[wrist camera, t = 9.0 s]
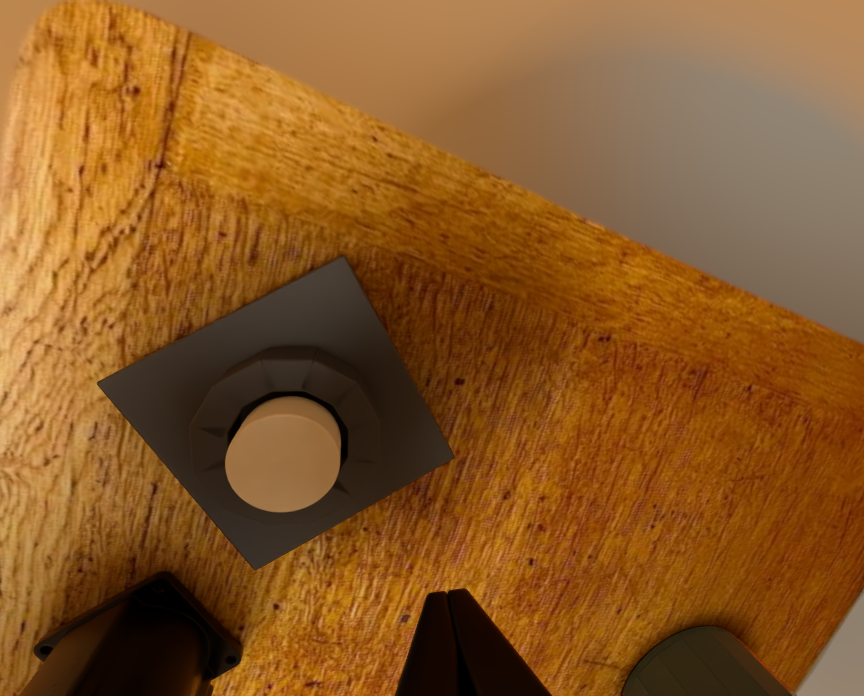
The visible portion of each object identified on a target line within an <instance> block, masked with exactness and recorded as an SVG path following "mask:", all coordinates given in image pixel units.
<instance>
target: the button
mask: <svg viewBox="0 0 864 696" xmlns="http://www.w3.org/2000/svg"><path fill="white" fill-rule="evenodd" d="M340 453H341V434H340V429H339V426H338V424H337V422H336V420H335V418H334V417H333V416H332V414H331V413H330V412H329V411H328V410H327V409H326V408H325V407H323V406H322V405H320V404H319V403H317V402H315V401H313V400H310V399H307V398H304V397H298V396H283V397H278V398H274V399H271V400H268V401H266V402H264V403H262V404H261V405H259V406H257V407H256V408H255V409H254V410H252V411H251V413H250V414H249V415H248V416H247V417H246V419H245V420H244V422H243V423H242V425H241V427H240V428H239V430H238V432H237V433H236V435H235V436H234V438H233V440H232V441H231V443H230V445H229V447H228V450H227V453H226V459H225V469H226V474H227V478H228V481H229V483H230V485H231V487H232V488H233V490H234V491H235V492H236V494H237V495H238V496H239V497H240V498H242V499H243V500H244V501H245V502H247V503H248V504H250V505H252V506H254V507H256V508H259V509H262V510H265V511H270V512H291V511H296V510H300V509H303V508H306V507H308V506H310V505H312V504H314V503H315V502H317V501H318V500H320V499H321V498H322V497H323V496H324V495H325V494H326V493H327V492H328V491H329V490H330V489H331V487H332V486H333V484H334V482H335V481H336V478H337V476H338V473H339V468H340Z"/></svg>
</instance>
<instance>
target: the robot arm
mask: <svg viewBox="0 0 864 696" xmlns="http://www.w3.org/2000/svg"><path fill="white" fill-rule="evenodd" d="M159 582H160V583H163V584H165V585H161V584H159ZM33 650H34V654H35V655H36V656H37V657H38V658H39V659H40V660H42V661H43V662H44V663H43V664H42V665H41V667H40V668H39V669H38V671H37V672H36V673H35V675H34V676H33V678H32V679H31V680H30V682H29V683H28V684H27V686H26V687H25V688H24V690H23V691H22V692H21V694H20V695H19V696H211V695H212V692H213V686H212V685H211V684H210V683H211V680H213V679H215V678H216V677H218V676H220V675H221V674H223V673H225V672H227V671H228V670H230V669H232V668H234V667H235V666H237V665H238V664H239V663H240V661H241V658H242V654H243V649H242V647H241V646H240V645H239V644H238V643H237V642H236V641H235V640H234V639H233V638H232V637H231V636H230V634H229V633H228V632H227V631H226V630H225V629H224V628H223V627H222V626H221V625H220V624H219V623H218V622H217V621H216V620H215V619H214V618H213V616H212V615H211V614H210V613H209V612H208V611H207V610H206V609H205V608H204V607H203V606H202V605H201V604H200V603H199V602H198V601H197V600H196V598H195V597H194V596H193V595H192V594H191V593H190V592H189V591H188V590H187V589H186V588H185V587H184V586H183V585H182V584H181V583H180V582H179V580H178V579H177V578H176V577H175V576H174V575H173V574H171V573H170V572H166V571H161V572H158V573H156V574H154V575H152V576H150V577H148V578H147V579H145V580H143V581H141V582H139V583H138V584H136V585H134V586H132V587H130V588H129V589H127V590H125V591H123V592H121V593H120V594H118V595H116V596H114V597H112V598H111V599H109V600H107V601H105V602H103V603H102V604H100V605H98V606H96V607H94V608H93V609H91V610H89V611H87V612H85V613H84V614H82V615H80V616H78V617H76V618H75V619H73V620H71V621H69V622H67V623H66V624H64V625H62V626H60V627H58V628H57V629H55V630H53V631H51V632H49V633H48V634H46V635H44V636H43V637H42V638H41V639H40V640H39V642H38V643H37V644H36V645H35V647H34V649H33ZM395 696H552V695H551V694H550V692H549V691H548V690H547V689H546V687H545V686H544V685H543V684H542V682H541V681H540V680H539V679H538V677H537V676H536V675H535V674H534V672H533V671H532V670H531V669H530V667H529V666H528V665H527V664H526V662H525V661H524V660H523V659H522V657H521V656H520V655H519V654H518V652H517V651H516V650H515V649H514V647H513V646H512V645H511V644H510V642H509V641H508V640H507V639H506V637H505V636H504V635H503V634H502V632H501V631H500V630H499V629H498V627H497V626H496V625H495V624H494V622H493V621H492V620H491V619H490V617H489V616H488V615H487V614H486V612H485V611H484V610H483V609H482V607H481V606H480V605H479V604H478V602H477V601H476V600H475V599H474V598H473V596H472V595H471V594H470V593H469V591H468V590H467V589H464V588H462V589H455V590H449V591H448V593H446V592H445V591H440V592H433V593H429V594H428V595H427V597H426V600H425V603H424V606H423V609H422V612H421V615H420V618H419V621H418V624H417V628H416V631H415V634H414V637H413V640H412V643H411V646H410V649H409V653H408V656H407V659H406V662H405V665H404V668H403V671H402V674H401V678H400V681H399V684H398V687H397V690H396V693H395Z"/></svg>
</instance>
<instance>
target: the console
mask: <svg viewBox="0 0 864 696" xmlns="http://www.w3.org/2000/svg"><path fill="white" fill-rule="evenodd" d="M97 385H98V386H99V387H100V389H101V390H102V391H103V392H104V393H105V394H106V396H107V397H108V398H109V399H110V400H111V402H112V403H113V404H114V405H115V406H116V407H117V409H118V410H119V411H120V412H121V413H122V415H123V416H124V417H125V418H126V419H127V420H128V422H129V423H130V424H131V425H132V426H133V427H134V429H135V430H136V431H137V432H138V433H139V435H140V436H141V437H142V438H143V439H144V440H145V442H146V443H147V444H148V445H149V446H150V448H151V449H152V450H153V451H154V452H155V453H156V455H157V456H158V457H159V458H160V459H161V461H162V462H163V463H164V464H165V465H166V466H167V468H168V469H169V470H170V471H171V472H172V474H173V475H174V476H175V477H176V478H177V479H178V481H179V482H180V483H181V484H182V485H183V487H184V488H185V489H186V490H187V491H188V492H189V494H190V495H191V496H192V497H193V498H194V500H195V501H196V502H197V503H198V504H199V505H200V507H201V508H202V509H203V510H204V511H205V512H206V514H207V515H208V516H209V517H210V518H211V520H212V521H213V522H214V523H215V524H216V525H217V527H218V528H219V529H220V530H221V531H222V533H223V534H224V535H225V536H226V537H227V538H228V540H229V541H230V542H231V543H232V544H233V546H234V547H235V548H236V549H237V550H238V551H239V553H240V554H241V555H242V556H243V557H244V559H245V560H246V561H247V562H248V563H249V564H250V566H251V567H252V568H253V569H254V570H258V569H259V568H261V567H263V566H265V565H266V564H268V563H270V562H272V561H274V560H275V559H277V558H279V557H281V556H282V555H284V554H286V553H288V552H289V551H291V550H293V549H295V548H296V547H298V546H300V545H302V544H304V543H305V542H307V541H309V540H311V539H312V538H314V537H316V536H318V535H319V534H321V533H323V532H325V531H327V530H328V529H330V528H332V527H334V526H335V525H337V524H339V523H341V522H342V521H344V520H346V519H348V518H349V517H351V516H353V515H355V514H357V513H358V512H360V511H362V510H364V509H365V508H367V507H369V506H371V505H372V504H374V503H376V502H378V501H379V500H381V499H383V498H385V497H387V496H388V495H390V494H392V493H394V492H395V491H397V490H399V489H401V488H402V487H404V486H406V485H408V484H410V483H411V482H413V481H415V480H417V479H418V478H420V477H422V476H424V475H425V474H427V473H429V472H431V471H432V470H434V469H436V468H438V467H440V466H441V465H443V464H445V463H447V462H448V461H450V460H452V459H454V458H455V456H454V454H453V452H452V450H451V448H450V446H449V444H448V442H447V440H446V438H445V436H444V435H443V433H442V431H441V429H440V427H439V425H438V424H437V422H436V420H435V418H434V416H433V414H432V413H431V411H430V409H429V407H428V405H427V404H426V402H425V400H424V398H423V396H422V394H421V393H420V391H419V389H418V387H417V385H416V383H415V382H414V380H413V378H412V376H411V374H410V373H409V371H408V369H407V367H406V365H405V363H404V362H403V360H402V358H401V356H400V354H399V352H398V351H397V349H396V347H395V345H394V343H393V342H392V340H391V338H390V336H389V334H388V332H387V331H386V329H385V327H384V325H383V323H382V321H381V320H380V318H379V316H378V314H377V312H376V311H375V309H374V307H373V305H372V303H371V301H370V300H369V298H368V296H367V294H366V292H365V290H364V289H363V287H362V285H361V283H360V281H359V280H358V278H357V276H356V274H355V272H354V270H353V269H352V267H351V265H350V263H349V261H348V259H347V258H346V256H345V255H341V256H339V257H338V258H336V259H334V260H332V261H330V262H328V263H326V264H324V265H322V266H320V267H318V268H316V269H314V270H312V271H310V272H308V273H307V274H305V275H303V276H301V277H299V278H297V279H295V280H293V281H291V282H289V283H287V284H285V285H283V286H281V287H279V288H277V289H276V290H274V291H272V292H270V293H268V294H266V295H264V296H262V297H260V298H258V299H256V300H254V301H252V302H250V303H248V304H246V305H245V306H243V307H241V308H239V309H237V310H235V311H233V312H231V313H229V314H227V315H225V316H223V317H221V318H219V319H217V320H216V321H214V322H212V323H210V324H208V325H206V326H204V327H202V328H200V329H198V330H196V331H194V332H192V333H190V334H188V335H186V336H185V337H183V338H181V339H179V340H177V341H175V342H173V343H171V344H169V345H167V346H165V347H163V348H161V349H159V350H157V351H155V352H154V353H152V354H150V355H148V356H146V357H144V358H142V359H140V360H138V361H136V362H134V363H132V364H130V365H128V366H126V367H125V368H123V369H121V370H119V371H117V372H115V373H113V374H111V375H109V376H108V377H106V378H104V379H102V380H100V381H98V382H97ZM283 396H298V397H304V398H307V399H310V400H313V401H315V402H317V403H319V404H320V405H322V406H323V407H325V408H326V409H327V410H328V411H329V412H330V413H331V414H332V416H333V417H334V418H335V420H336V422H337V424H338V426H339V429H340V434H341V453H340V468H339V473H338V476H337V478H336V481H335V482H334V484H333V486H332V487H331V489H330V490H329V491H328V492H327V493H326V494H325V495H324V496H323V497H322V498H321V499H320V500H318V501H317V502H315V503H314V504H312V505H310V506H308V507H306V508H303V509H300V510H296V511H291V512H270V511H265V510H262V509H259V508H256V507H254V506H252V505H250V504H248V503H247V502H245V501H244V500H243V499H242V498H240V497H239V496H238V495H237V494H236V492H235V491H234V490H233V488H232V487H231V485H230V483H229V481H228V478H227V474H226V469H225V459H226V453H227V450H228V447H229V445H230V443H231V441H232V440H233V438H234V436H235V435H236V433H237V432H238V430H239V428H240V427H241V425H242V423H243V422H244V420H245V419H246V417H247V416H248V415H249V414H250V413H251V411H252V410H254V409H255V408H256V407H257V406H259V405H261V404H262V403H264V402H266V401H268V400H271V399H274V398H278V397H283Z"/></svg>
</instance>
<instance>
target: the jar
mask: <svg viewBox="0 0 864 696" xmlns="http://www.w3.org/2000/svg"><path fill="white" fill-rule="evenodd" d="M622 696H797V695H796V694H795V693H794V692H793V691H792V690H790V689H789V688H788V687H787V686H786V685H785V684H784V683H783V682H782V681H781V680H780V679H779V678H778V677H777V676H776V675H775V674H774V673H773V672H772V671H771V670H770V669H769V668H768V667H767V666H766V665H765V664H764V663H763V662H762V661H761V660H760V659H759V658H758V657H757V656H756V655H755V654H754V653H753V652H752V651H751V650H750V649H749V648H748V647H747V646H746V645H745V644H744V643H743V642H742V641H740V640H739V639H738V638H737V637H736V636H735V635H734V634H733V633H731V632H730V631H728V630H726V629H723V628H721V627H715V626H701V627H695V628H691V629H688V630H685V631H682V632H679V633H677V634H675V635H673V636H671V637H669V638H668V639H666V640H664V641H663V642H661V643H660V644H658V645H657V646H656V647H655V648H653V649H652V650H651V651H650V652H649V653H648V654H647V655H646V656H645V657H644V658H643V659H642V660H641V661H640V662H639V663H638V665H637V666H636V667H635V669H634V670H633V671H632V673H631V674H630V676H629V678H628V680H627V682H626V684H625V686H624V689H623V692H622Z"/></svg>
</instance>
